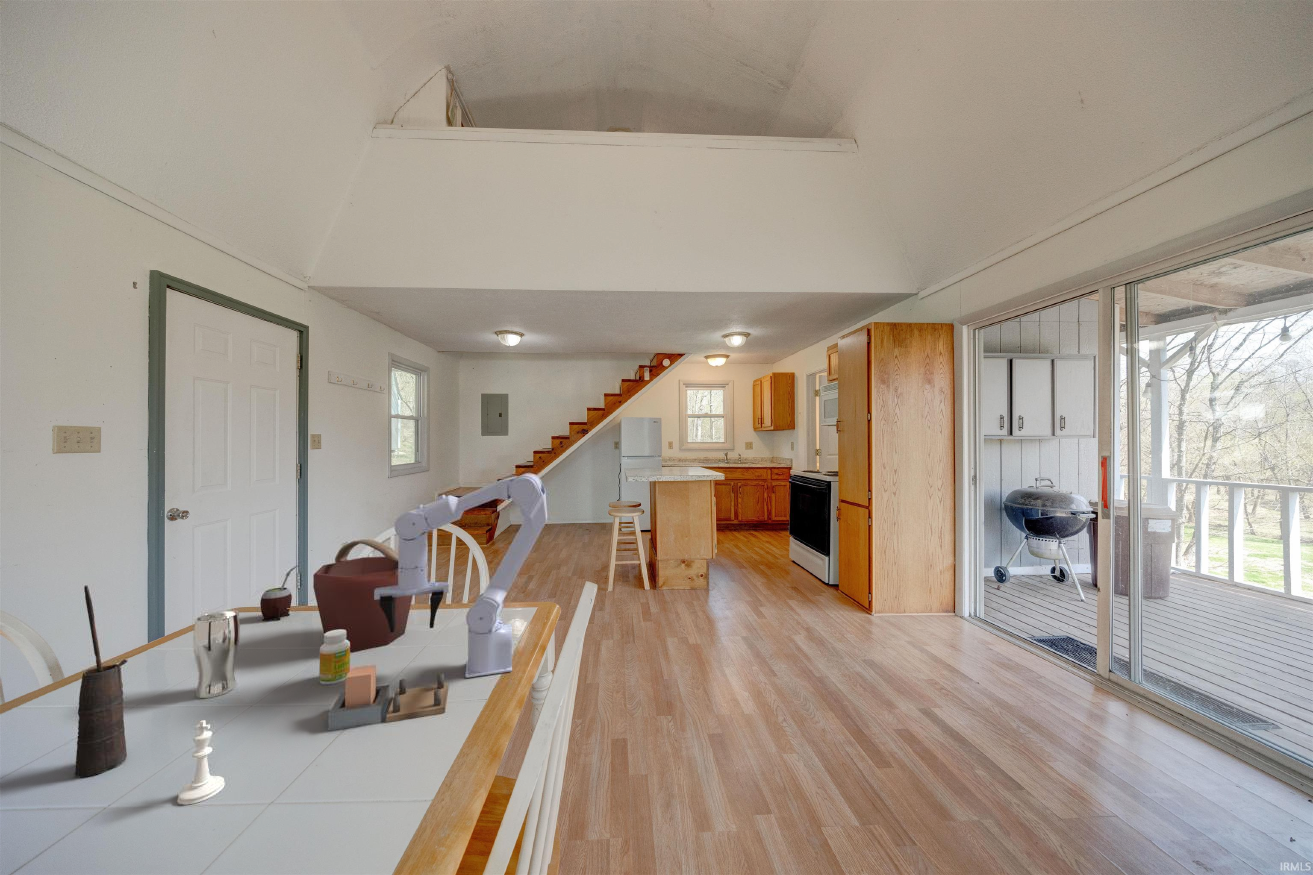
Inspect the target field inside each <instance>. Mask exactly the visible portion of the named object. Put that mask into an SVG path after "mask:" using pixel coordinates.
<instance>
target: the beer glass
mask: <svg viewBox="0 0 1313 875" xmlns="http://www.w3.org/2000/svg"><path fill="white" fill-rule="evenodd" d="M239 613H240V612H239V611H238V610H233V609H232V610H230V609H229V610H219V611H214V612H210V613H206V614H202V615H200V616H197V617H196V618H195V619H194V628H193V641H192V642H193V644H192V645H193V646H192V648H193V654H194V658H195V663H196V667H197V668H196V669H197V673H198V683H197V686H196V691H195V697H196V698H198V699H209V698H214V697H218V696H221V695H225V694H227V693H229V692H232V691H233V690H234V689H236V687H237V680H236V677H235V664H236V663H235V662H236V657H237V654H238V648H239V643H240V634H241V629H240V627H241V626H240V625H241V624H240V615H239Z"/></svg>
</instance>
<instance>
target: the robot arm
mask: <svg viewBox="0 0 1313 875" xmlns="http://www.w3.org/2000/svg"><path fill="white" fill-rule="evenodd" d="M546 490H547V489H546V487H545V485H544V484H543V481H542V480H541V478H540V477H539V476H538V475H537V474H534V473H531V472H526V473H523V474H521V475H517V476H512V477H508V478H504V479H501V480H498V481H495V482H492V483H490V484H488V485H485V486H483V487H481V488H479V489H477V490H474V491H472V492H469V493H468V494H465V495H463V496H460V497H456V496H453V495H447V496H446V495H445V494H442V495H440V496H437V499H436V500H435V501H432V502H429V503H427V504H425V505H423V504H419V505H417V506H416V508H415V509H412V510H410V511H405V512H404V513H403V514H401V515H400V516H398V517H397V518H396V520H395V522H394V531H395V533H396V535H397V536H398V552H397V553H398V585H396V586H390V587H383V588H376V589H375V591H374V600H377V599H380V602H379V605H380V607H381V609H382V610H383V612H384V614H385V616H386V618H387V621H388V624H389V628H390V633H392V632H394V631H395V626H396V622H395V602H396V597H400V596H411V595H413V596H421V595H430V597H429V604H430V606H429V608H430V609H429V610H430V614H429V615H430V616H429V617H430V618H429V629H434V627H435V620H436V616H437V612H438V609H439V607H440V606H441V602H442V600H443V597H444V595H445V594H448V593H450V582H449V581H445V582H443V581H442V582H435V581H434V582H429V581H428V569H429V568H428V565H429V564H428V550H429V549H428V547H429V546H428V545H429V544H428V532H429V531H435V530H437V529H439V528H441V527H444V526H446V525H448V524H451V523H453V522H456V521H459V520H460V519H461V518H462V516H463V514H464V512H465V511H467V510H470V509H472V508H475V507H476V506H477V507H479V506H480V505H482V504H485V503H488V502H491V501H493V500H498V499H500V500H504V501H509V500H510V499H511V500H512V501H513V502H514V503H515V504H516V506H517V507H518V508H519V510H520V513H521V516H522V518H523V522H522V524H521V525H520V527H519V529H518V531H517V533H516V534H515V536H514V538H513V540H512V543H511V544H510V545H509V547H508V549H507V551H506V552H505V554H504V556H503V558H502V560H501V562H500V563H499V565H498V567H497V569H496V570H495V572H494V574H493V576H492V578H491V579H490V582H489V584H488V585H487V586H486V589H485V590H484V592H482V593H481V594H479V596H477V598H476V600H475V601H474V604H473V605H472V606H471V607H470V608H469V609H468V610H467V613H466V617H465V622H466V625H467V629H468V630H467V660H466V664H465V665H466V666H465V678H468V679H469V678H473V677H480V676H488V675H494V674H496V675H497V674H501V673H508V672H512V670H513V658H514V649H513V633H512V632H513V630H512V629H513V628H512V624H504V623H503V621H502V619H501V617H500V614H501V613H502V612H503V609H504V601H505V597H506V596H507V594H508V592H509V590H510V588H511V587H512V584H513V583H514V582H515V580H516V577H517V575H518V574H519V573H520V571H521V568H522V566H523V565H524V563H525V561H526V559H527V557H528V556H529V554H530V552H531V550H532V548H533V546H534V545H535V543H536V541H537V539H538V538H539V536H540V534H541V533H542V530H543V529H544V527H545V525H546V523H547V522H548V508H547V492H546Z"/></svg>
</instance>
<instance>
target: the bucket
mask: <svg viewBox="0 0 1313 875" xmlns="http://www.w3.org/2000/svg"><path fill="white" fill-rule="evenodd" d="M358 545H365V546H367V547H370V548H372V549H374V550H376V551H378V552H380V553H381V555H383V556H366V557H365V556H362V557H358V558H353V559H347V558H348V556H349V555H350V553H351V551H352V550H353V549H354V548H355V547H357V546H358ZM396 585H398V552H396V551H395V550H394V549H393V548H392V547H390V546H388V545H386V544H384V543H382V542H380V541H377V540H373V539H359V540H353V541H350V542H349V543H346V544H344V546H342V547H341V548H339V550H338V552H337V554H336V556H335V557H334V562H333V563H328V564H323V565H322V566H321V567H320V568H318V570H317V571H316V572H315V573H313V587H312V588H313V592H314V597H315V600H316V604H317V608H318V613H319V617H320V623H321V627H322V630H323V635H324V634H325V633H327V632H329V631H333V630H340V629H342V630H346V640H348V641H349V642H350V654H353V653H357V652H361V651H367V650H371V649H376V648H381V647H385V646H388V645H390V644H391V643H393V642H395V641H396V640H398V639H399V638H400V637H402V636H403V635H405V633H406V628H407V623H408V619H409V616H410V615H409V614H410V610H411V606H412V602H413V596H414V595H411V596H400V597H396V602H395V622H396V626H395V631H394V632H392V633H390V628H389V624H388V621H387V618H386V616H385V614H384V612H383V610H382V609H381V607H380V605H379V602H380V599H377V600H374V591H375V589H376V588H383V587H390V586H396Z"/></svg>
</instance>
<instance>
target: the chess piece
mask: <svg viewBox="0 0 1313 875" xmlns="http://www.w3.org/2000/svg"><path fill="white" fill-rule="evenodd" d="M206 722H207V721H206V720H204V719H203V720H200V722H199V724H197V725H196V726H194V730H195V731H199V732H198V733H197V734H195V735H194V736H193V737H192V741H193V743H194V745H195V748H196V750H195V751H193V753H192V754H191V757H192V758H193V759H194V758H195V759H197V760H196V766H195V767H196V768H195V773H194V779H193V781H191V782H190V783H189V784H188V785H186V786H185V787H183V788H182V789H181V790H180V791H179V793H178V795H177V796H178V797H177V803H178V804H180V805H184V806H185V805H187V806H188V805H193V804H198V803H200V802H204V801H205V800H209V799H210V798H212V797H214V796H215V795H217V794H219V792H221V791H222V790H223V789H224V787H225V784H226V783H225V778H224V777H222V776H219V775H211V774H210V770H209V763H208V755H209V754H211V753H212V751H213V748H212V746H208V745H209V744H210V740H211V738H212V736H213V732H212V731H211V730H209V729H210V728H211V724H206Z"/></svg>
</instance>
